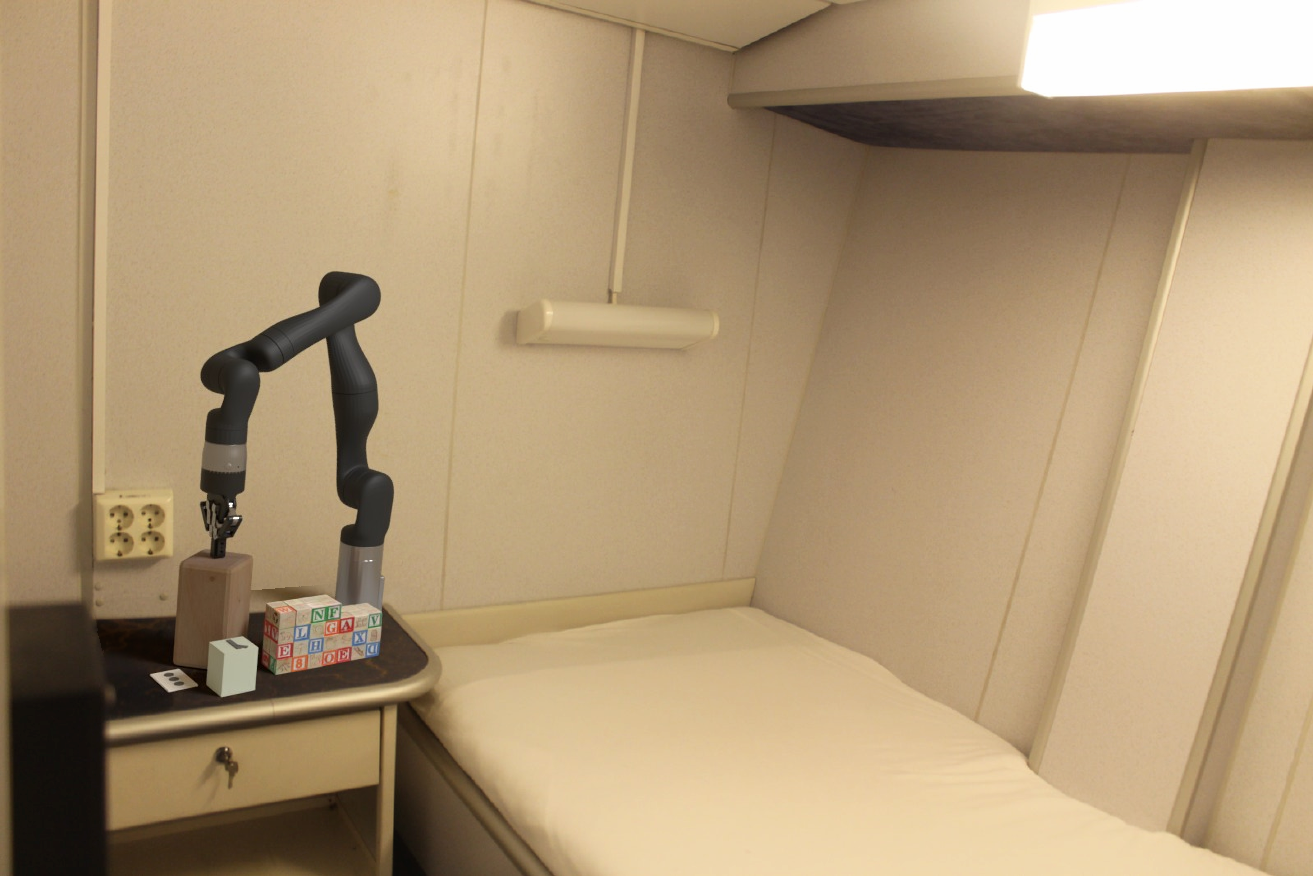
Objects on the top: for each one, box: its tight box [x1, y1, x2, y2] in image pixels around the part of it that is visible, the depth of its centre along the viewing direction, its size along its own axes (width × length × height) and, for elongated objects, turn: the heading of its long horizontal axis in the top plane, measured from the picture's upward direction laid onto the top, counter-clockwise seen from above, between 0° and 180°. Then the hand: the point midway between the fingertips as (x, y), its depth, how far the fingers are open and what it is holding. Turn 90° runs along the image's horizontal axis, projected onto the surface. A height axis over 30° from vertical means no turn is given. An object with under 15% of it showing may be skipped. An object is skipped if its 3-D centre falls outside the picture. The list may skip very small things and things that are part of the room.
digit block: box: [206, 636, 259, 698], centre depth 174 cm, size 6×6×8 cm
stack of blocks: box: [261, 594, 383, 676], centre depth 190 cm, size 21×6×12 cm, turn 134°
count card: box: [149, 668, 199, 693], centre depth 174 cm, size 8×5×1 cm, turn 47°
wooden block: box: [172, 548, 254, 670], centre depth 183 cm, size 10×10×20 cm
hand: (217, 557), depth 181 cm, fingers closed
